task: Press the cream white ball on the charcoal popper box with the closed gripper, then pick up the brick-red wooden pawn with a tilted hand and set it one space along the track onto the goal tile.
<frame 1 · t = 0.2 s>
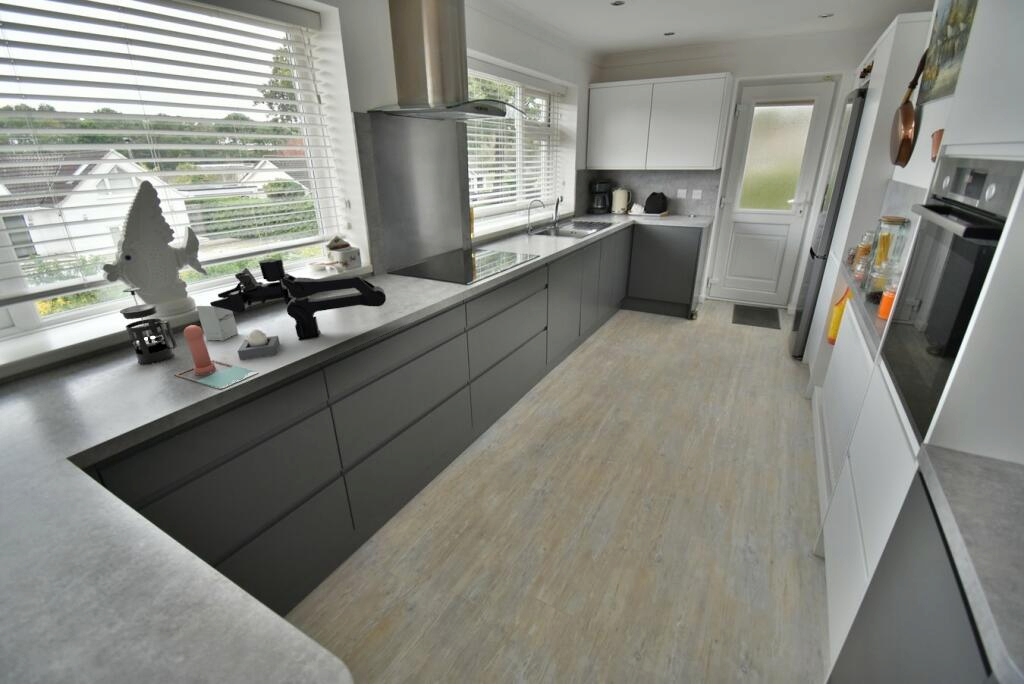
hand: (214, 299, 146), 16 cm above the countertop, tool horizontal, fingers open, 9 cm apart
pawn: (205, 371, 135), on the countertop
goal tile: (228, 377, 130), on the countertop
popper box: (260, 351, 148), on the countertop
supplement box: (222, 337, 162), on the countertop
french press: (158, 359, 146), on the countertop
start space: (205, 371, 135), on the countertop
cream white ball: (257, 337, 146), point 5 cm above the countertop, slide at 0.0 cm
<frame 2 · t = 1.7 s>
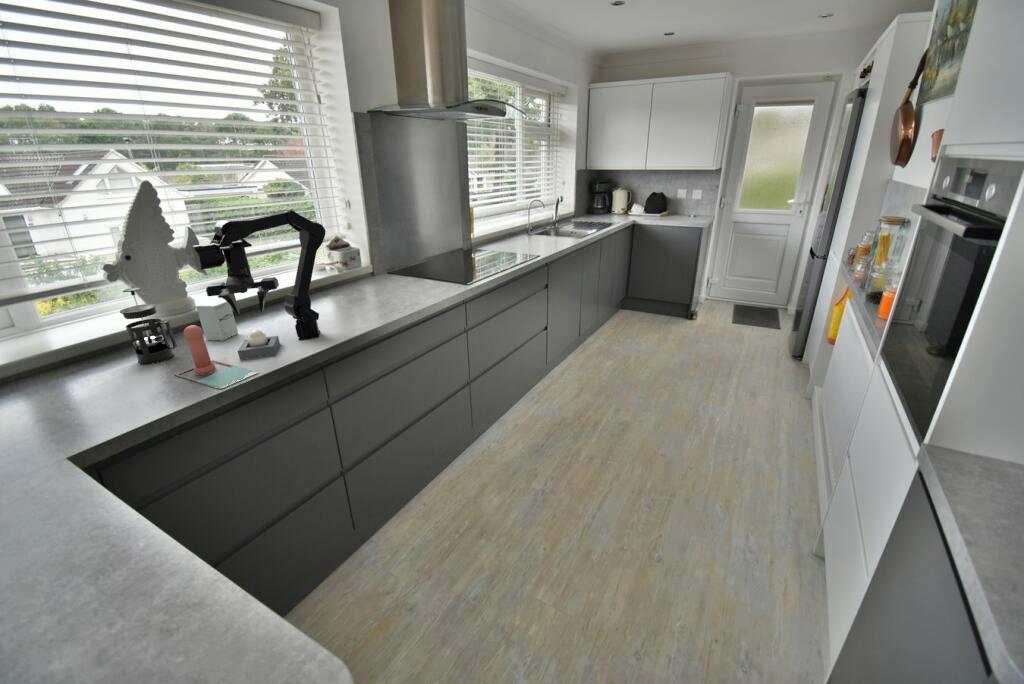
hand: (250, 313, 143), 13 cm above the countertop, tool pointing down, fingers open, 6 cm apart
nothing on the countertop moved.
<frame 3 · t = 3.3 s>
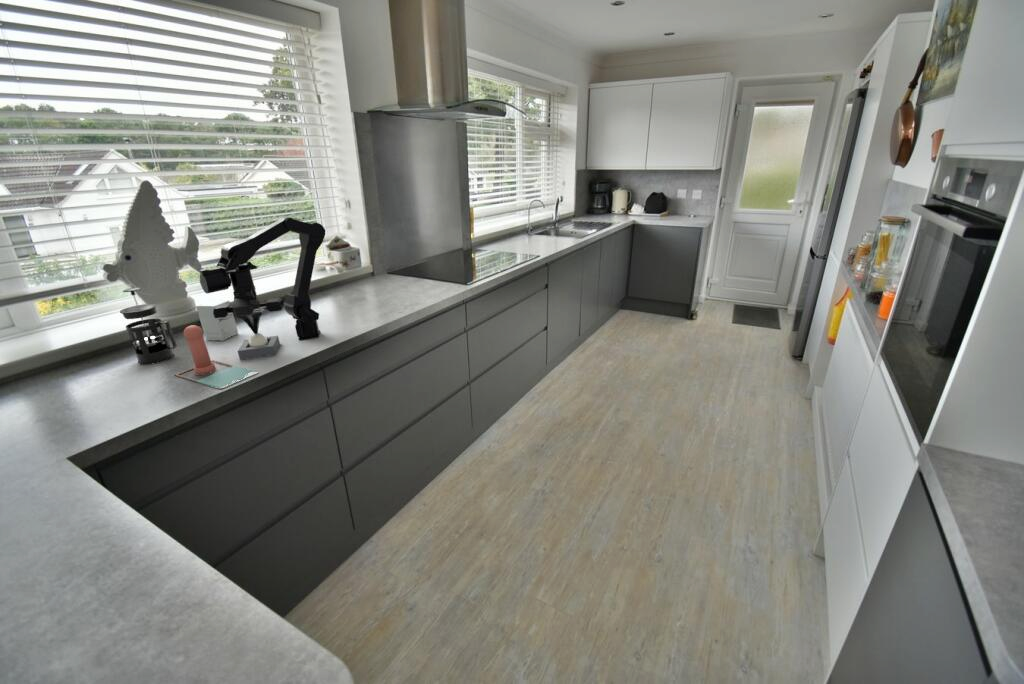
hand: (256, 333, 145), 6 cm above the countertop, tool pointing down, fingers closed, pressing on cream white ball
cream white ball: (257, 340, 146), point 4 cm above the countertop, slide at 1.1 cm, touching gripper
everything else where it was.
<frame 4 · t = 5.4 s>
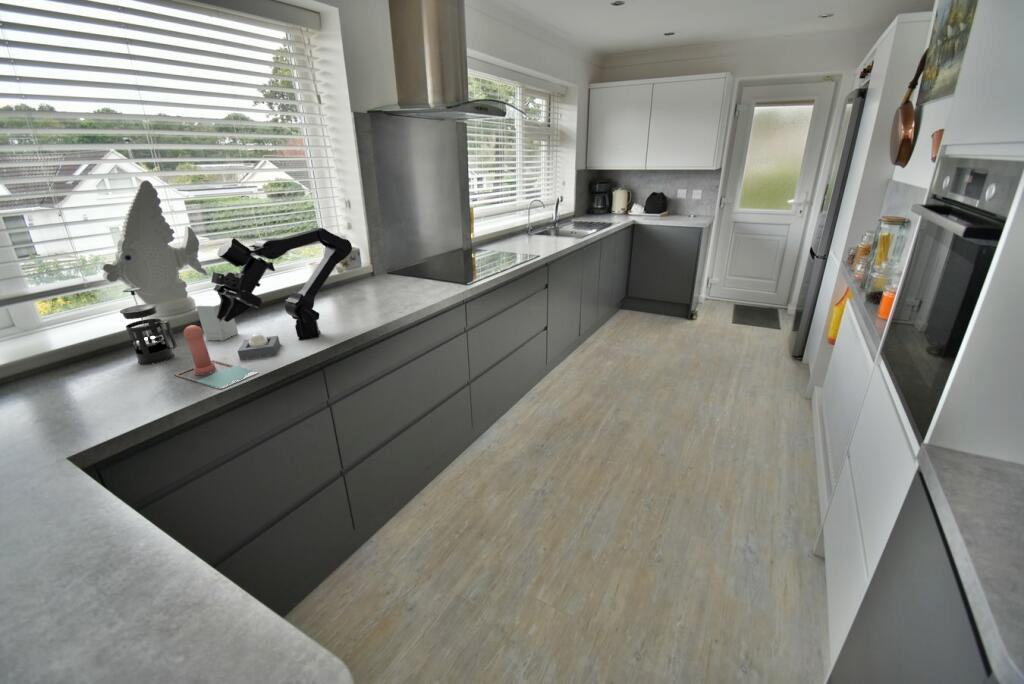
hand: (222, 319, 136), 14 cm above the countertop, tool tilted 45°, fingers open, 4 cm apart
cream white ball: (258, 341, 146), point 4 cm above the countertop, slide at 1.4 cm
everything else where it was.
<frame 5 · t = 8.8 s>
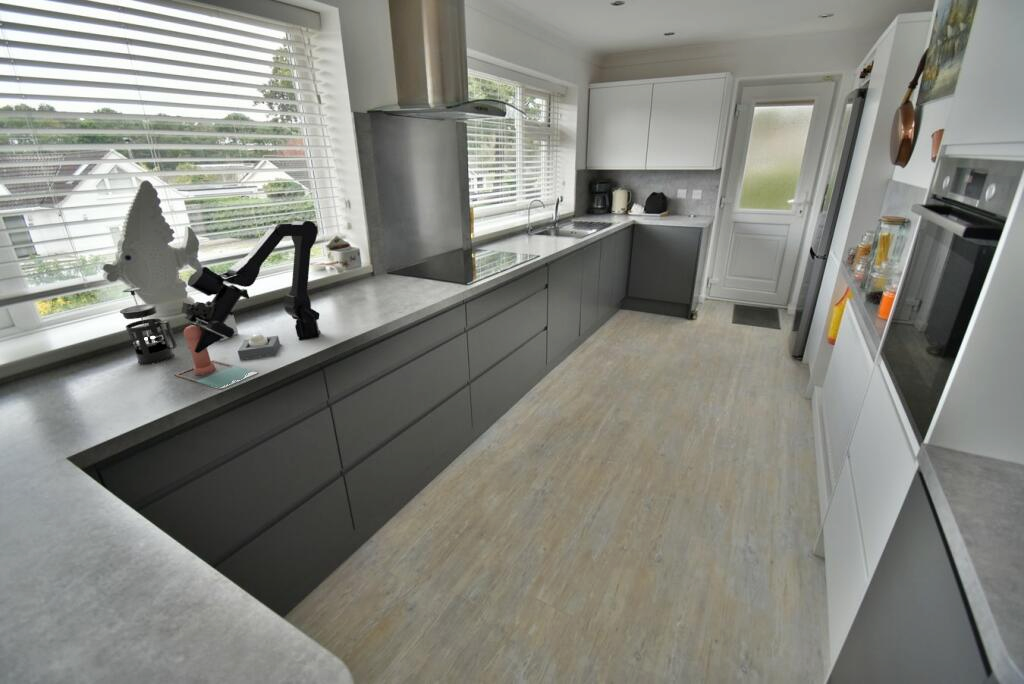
hand: (193, 350, 131), 7 cm above the countertop, tool tilted 45°, fingers closed on pawn, 4 cm apart
pawn: (205, 371, 135), on the countertop, touching gripper
everything else where it was.
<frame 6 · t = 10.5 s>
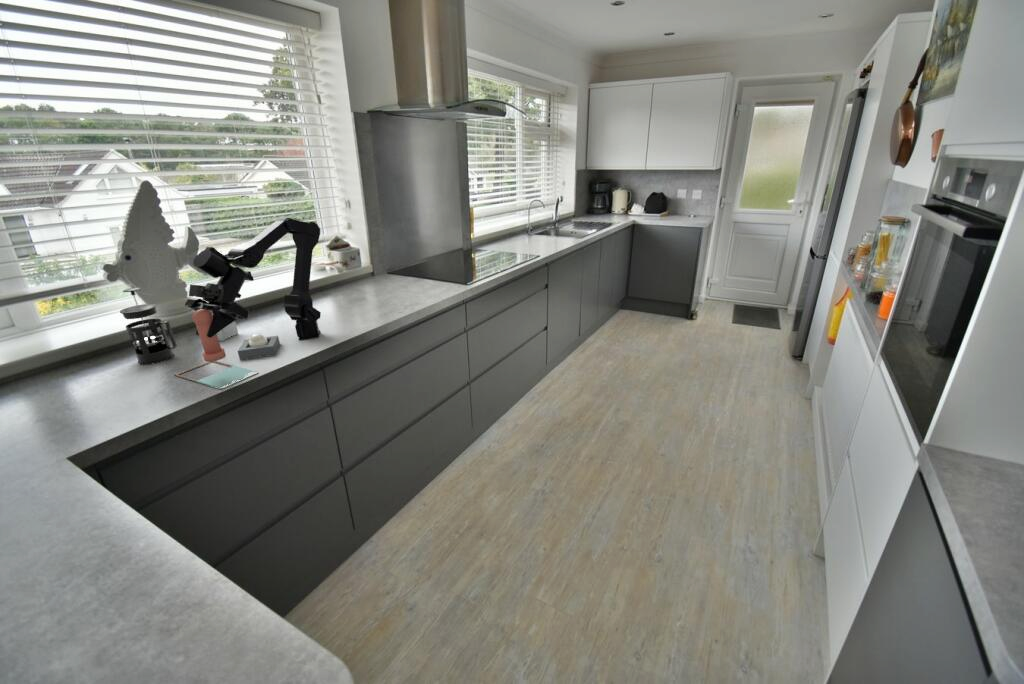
hand: (203, 336, 125), 13 cm above the countertop, tool tilted 45°, fingers closed on pawn, 4 cm apart
pawn: (215, 357, 129), point 6 cm above the countertop, touching gripper
everything else where it was.
when the fingers open (8 cm above the countertop, at t = 12.2 s): pawn stays where it is, resting on goal tile.
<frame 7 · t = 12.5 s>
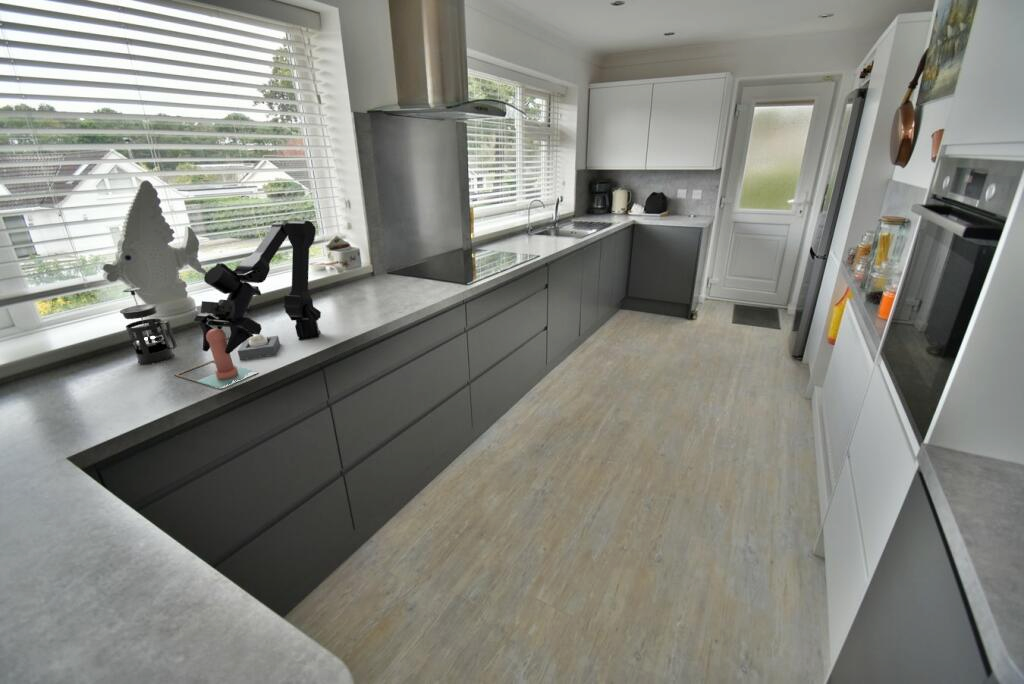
hand: (215, 352, 125), 9 cm above the countertop, tool tilted 45°, fingers open, 8 cm apart
pawn: (228, 376, 130), resting on goal tile
everything else where it was.
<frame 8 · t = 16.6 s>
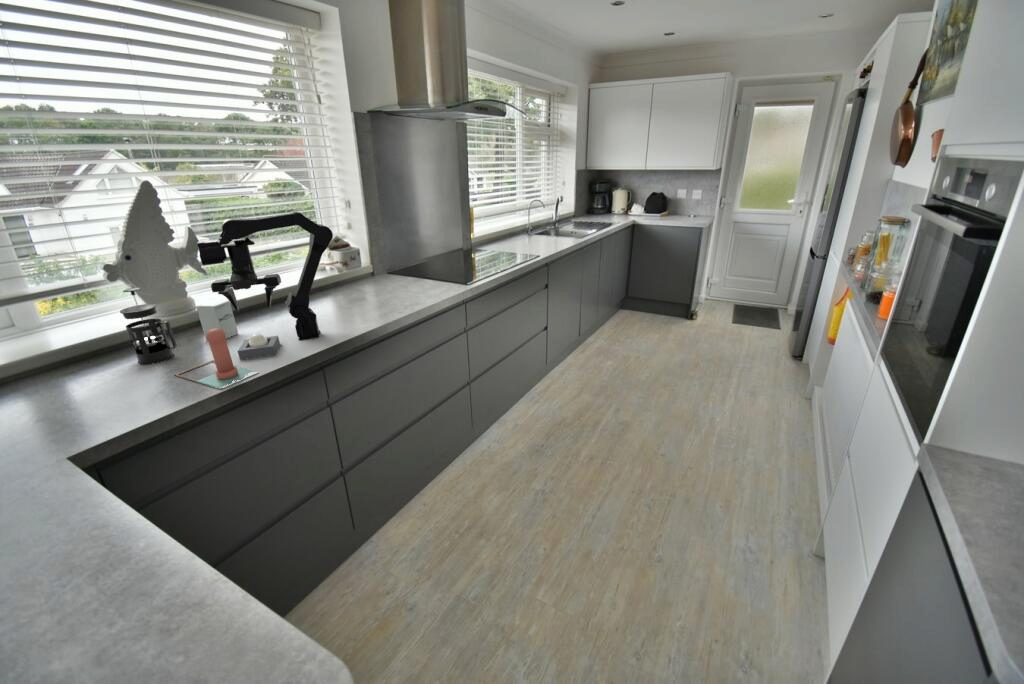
hand: (253, 308, 147), 13 cm above the countertop, tool pointing down, fingers open, 9 cm apart
nothing on the countertop moved.
at the end: pawn inside the target area on the goal tile (0.1 cm from its centre), point 0.5 cm above the goal tile's base; pawn tilted 0°; cream white ball slide at 1.4 cm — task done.
